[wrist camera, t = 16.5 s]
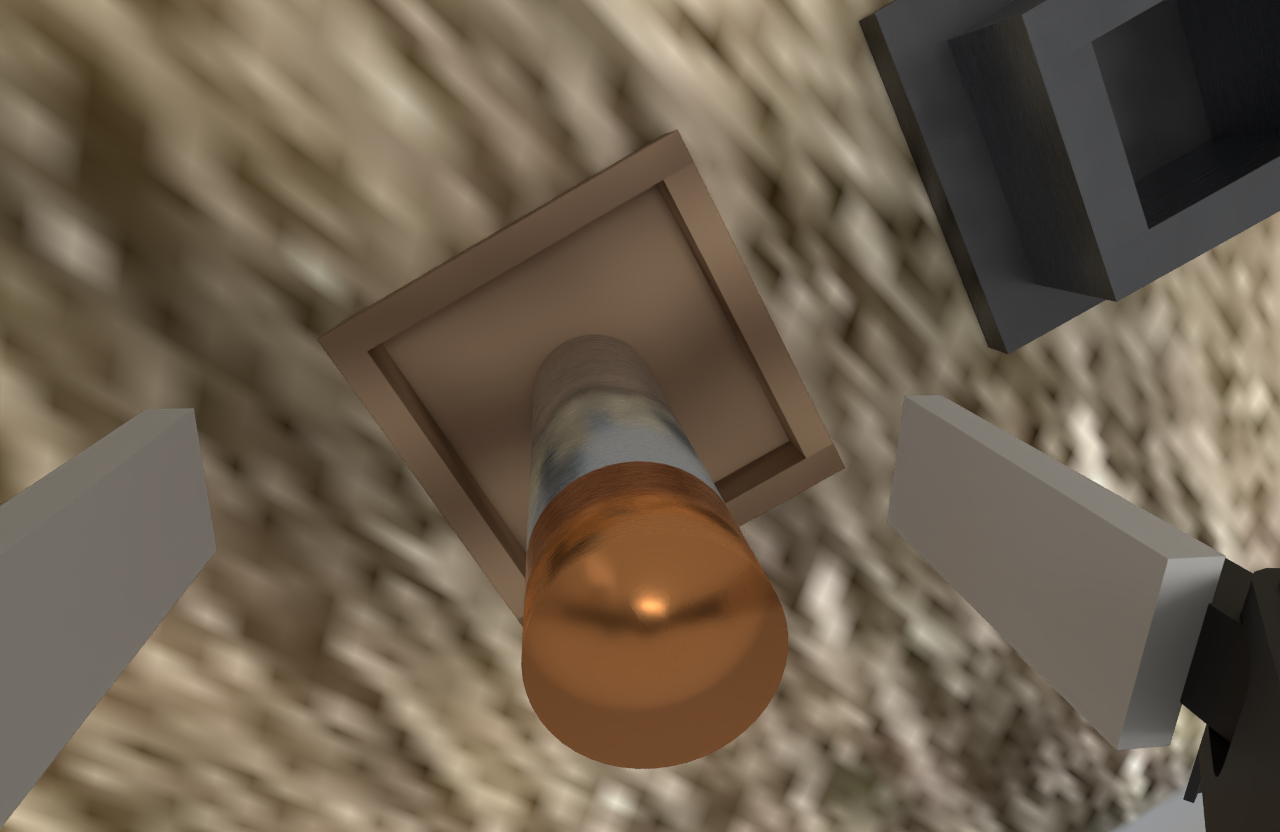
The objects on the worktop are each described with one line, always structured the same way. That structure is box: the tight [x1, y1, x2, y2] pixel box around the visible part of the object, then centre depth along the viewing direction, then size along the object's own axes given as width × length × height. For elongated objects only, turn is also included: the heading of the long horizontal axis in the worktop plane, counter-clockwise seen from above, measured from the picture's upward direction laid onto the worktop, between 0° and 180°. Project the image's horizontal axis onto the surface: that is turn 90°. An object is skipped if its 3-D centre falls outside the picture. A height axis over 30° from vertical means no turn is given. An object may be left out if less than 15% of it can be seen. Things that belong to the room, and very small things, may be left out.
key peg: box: [521, 334, 788, 769], centre depth 19 cm, size 4×4×15 cm
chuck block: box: [859, 0, 1280, 354], centre depth 23 cm, size 12×12×5 cm
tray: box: [317, 130, 845, 626], centre depth 25 cm, size 12×12×3 cm
